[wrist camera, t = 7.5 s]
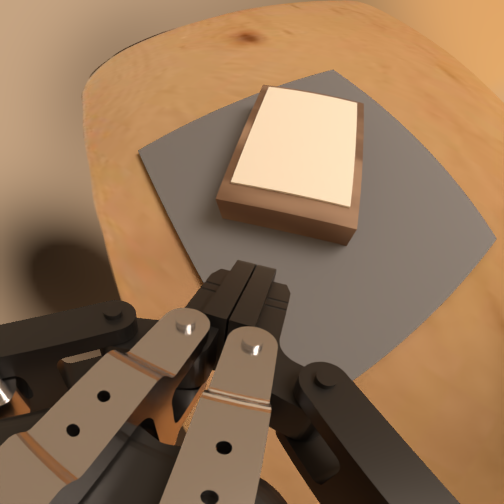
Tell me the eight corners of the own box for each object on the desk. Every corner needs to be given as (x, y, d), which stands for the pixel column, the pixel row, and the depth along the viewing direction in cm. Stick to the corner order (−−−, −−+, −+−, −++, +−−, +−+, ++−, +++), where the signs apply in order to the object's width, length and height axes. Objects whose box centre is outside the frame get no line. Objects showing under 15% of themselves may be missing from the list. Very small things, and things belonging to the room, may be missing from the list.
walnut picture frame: (222, 218, 22) (264, 106, 27) (346, 245, 21) (357, 124, 25) (215, 197, 19) (263, 83, 24) (357, 228, 18) (364, 101, 22)
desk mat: (332, 72, 30) (333, 69, 29) (493, 240, 20) (496, 238, 20) (139, 153, 26) (138, 150, 26) (287, 420, 17) (288, 421, 16)
